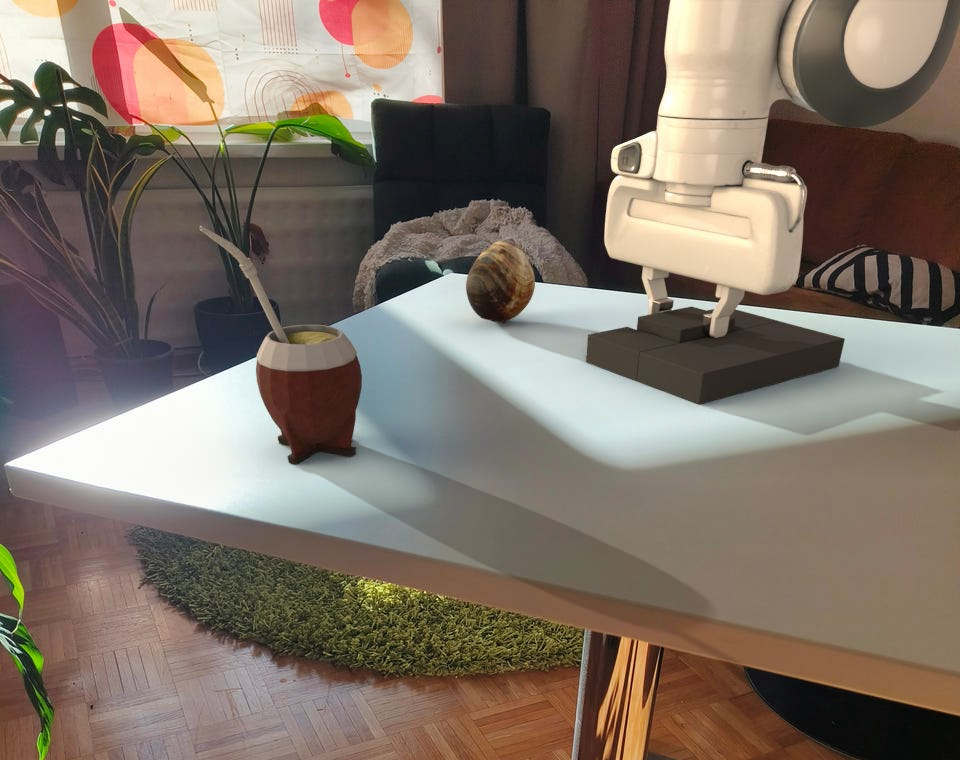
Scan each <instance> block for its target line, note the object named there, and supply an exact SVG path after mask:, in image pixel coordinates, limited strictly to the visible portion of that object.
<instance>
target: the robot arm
mask: <svg viewBox="0 0 960 760" xmlns="http://www.w3.org/2000/svg"><path fill="white" fill-rule="evenodd" d="M667 13H668V14H667V20H666V30H665V39H664V51H663V52H664V53H663V54H664V63H665V69H666V70H665V71H666V77H665V78H666V79H665V86H664V87H665V88H664V92H663V95H662V98H661V100H660V104H659V107H658V112H657V119H656V120H657V122H656V130H652V131H649V132H647V133H645V134H643V135H641V136H638V137H636V138H634V139H631V140H628V141H625V142H623V143H621V144H618V145H616V146H615V147H613V149H612V150H611V151H612V152H611V155H610V157H611V158H610V166H611V167H610V168H611V171H612V172H613V173H614V174H616V175H617V176H615V177H614V179H613V180H612V181H611V183H610V186H609V190H608V193H607V202H606V209H605V211H606V212H605V220H604V236H603V237H604V238H603V241H604V246H605V250H606V251H607V255H608V256H609V258H610V259H613V260H617V261H621V262H626V263H630V264H634V265H638V266H642V271H641V272H642V273H641V280H642V283H643V287H644V290H645V293H646V296H647V300H648V307H647V315H650V314H655V313H660V312H665V311H671V310H673V308H674V301H675V300H674V299H673V298H669V297H668V291H667V286H666V282H665V279H668V278H669V276H670V273H671V274H674V275H679V276H682V277H686V278H691V279H695V280H699V281H703V282H708V283H712V284H715V285H716V290H715V297H716V298H718V299H719V300H718V303H717V304H716V306H715V308H713V309H714V311H713V313H712V314H705V315H704V317H703V325H704V326H703V327H702V333H703V334H704V335H707V336H711V337H714V338H718V337H723V336H725V335H726V333H727V330H728V324H729V318H730V315H732V313H733V312H734V310H735V309H736V310H737V308H738V306H739V305H740V303H741V302H742V301H743V299H744V297H745V292H748V293H752V294H756V295H761V296H768V295H769V296H770V295H776V294H779V293H783V292H787V291H788V290H789V289H791V287H792V286H793V285H794V284H795V283H796V282H797V280H798V277H799V273H800V268H801V260H802V249H803V237H804V213H805V208H806V202H807V197H808V189H807V185H805V182H804V180H803V178H802V177H801V176H800V175H799V174H797V170H796V169H795V168H794V167H792V166H789V165H772V164H769V163H766V162H765V163H764V162H762V161H763V154H764V148H765V147H764V146H765V141H766V135H767V129H768V122H769V116H770V111H771V107H772V105H773V104H774V103H775V102H777V101H780V100H788V101H790V102H791V103H793V104H795V105H797V106H798V107H801V108H804V109H806V110H808V111H811V112H814V113H817V114H818V115H820V116H821V117H822V118H823V119H825V120H827V121H828V122H830V123H832V124H835V125H837V126H841V127H844V128H852V129H853V128H854V129H861V128H862V129H863V128H869V127H874V126H878V125H881V124H884V123H886V122H889V121H891V120H893V119H895V118H896V117H899V116H900V115H902V114H903V113H905V112H906V111H908V110H909V109H910V108H911V107H913V106H914V105H915V104H916V103H918V101H919V100H920V99H922V98H923V97H924V95H926V93H928V91H929V90H930V88H931V87H932V86H933V84H934V83H935V81H936V80H937V79H938V77H939V76H940V74H941V72H942V71H943V69H944V67H945V65H946V63H947V61H948V59H949V56H950V53H951V52H952V49H953V46H954V42H955V40H956V36H957V32H958V29H959V26H960V0H669V5H668V12H667ZM793 181H795V182H796V183H794V182H793Z"/></svg>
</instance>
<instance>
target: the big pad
mask: <svg viewBox="0 0 960 760" xmlns="http://www.w3.org/2000/svg"><path fill="white" fill-rule="evenodd" d="M714 309H715V308H713V309H708V310H706V311H710V312H713V311H714ZM730 317H732V318H735V325H734V331H733V332H729V333H726V335H725V336H723V337H718V338H714V337H707V338H702V339H697V340H693V341H688V342H684V343H677V342H674V341H671V340H668V339H664V338H661V337H658V336H655V335H652V334H649V333H645V332H642V331H639V330H637V328H636V329H635V328H632V327H629V326H624V327H619V328H618V327H617V328H614V329H609V330H605V331H604V330H603V331H599V332H593V333H589V334H587V341H586V342H587V343H586V344H587V345H586V358H585V363H587V364H590V365H593V366H595V367H598V368H601V369H604V370H606V371H609V372H612V373H614V374H617V375H619V376H622V377H625V378H626V379H627V378H628V379H631V380H633V381H636V382H639V383H641V384H643V385H647V386H649V387H651V388H655V389H657V390H660V391H663V392H666V393H668V394H670V393H671V395H673V396H676V397H678V396H680V397H679V398H681V397H682V398H681V399H683V400H686V399H687V401H689V400H690V401H689V402H691V403H694V404H698V405H701V404H704V403H709V402H713V401H716V400H720V399H723V398H728V397H730V396H731V397H732V396H734V395H737V394H742V393H747V392H749V391H753V390H756V389H761V388H764V387H767V386H771V385H774V384H779V383H783V382H786V381H790V380H793V379H797V378H801V377H805V376H808V375H812V374H815V373H819V372H822V371H826V370H830V369H831V370H832V369H835V368H838V367H839V366H840V362H841V358H842V355H843V349H844V345H845V340H846V338H844V337H840V336H836V335H833V334H829V333H825V332H821V331H818V330H815V329H810V328H806V327H803V326H799V325H796V324H791V323H788V322H784V321H781V320H776V319H773V318H769V317H765V316H762V315H759V314H755V313H754V314H753V313H750V312H746V311H744V310H739V309H737V308H736V309H735V310H734V312H733V313H732V315H730Z"/></svg>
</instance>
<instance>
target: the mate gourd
mask: <svg viewBox="0 0 960 760" xmlns="http://www.w3.org/2000/svg"><path fill="white" fill-rule="evenodd" d="M199 230H200V232H202V233H203V234H204V235H206V236H207V237H209V238H210V239H211V240H212V241H214V242H215V243H216V244H218V245H219V246H221V247H222V248H223V249H224V250H226V251H227V252H228V253H229V254H230V255H231V256H232V257H233V258H234V259H236V260H237V262H238V263H239V268H240V270H241V271H242V273H243V275H244V277H245V278H246V279H248V280H249V282H250V284H251V287H252V288H253V290H254V292H255V295H256V296H257V298H258V301H259V303H260V305H261V307H262V309H263V311H264V313H265V315H266V317H267V320H268V321H269V324H270V325H271V328H272V329H273V330H272V331H270V332H269V333H267V334H266V336H265V337H264V339H263V340H262V343H261V344H260V347H259V349H258V351H257V353H256V365H255V375H256V377H255V378H256V383H257V389H258V391H259V394H260V397H261V400H262V403H263V405H264V406H265V409H266V411H267V412H268V415H269V416H270V418H271V420H272V421H273V423H274V424H275V425H276V426H277V428H278V429H279V430H280V433H281V434H280V435H278V436H277V441H278V444H279V445H284V446H289V448H290V451H291V453H290V454H289V455H287V461H288V463H289V464H293V465H298V464H300V463H302V462H303V461H305V460H308V459H309V458H310V457H312V456H314V455H315V454H317V453H327V454H332V455H337V456H338V455H339V456H343V457H349V458H350V457H354V456H355V455H357V451H356V450H357V447H356V446H352V445H353V436H354V431H355V426H356V421H357V419H356V418H357V408H358V406H359V402H360V398H361V392H362V389H363V388H362V386H363V375H362V368H361V363H360V360H359V357H358V352H357V350H356V348H355V346H354V345H353V343H352V342H351V340H350V339H349V338H348V336H347V335H346V334H345V333H344V332H343V331H342V330H341V329H340V328H337V327H334V326H330V325H323V324H298V325H290V326H289V325H288V326H284V327H282V325H281V323H280V321H279V319H278V317H277V315H276V313H275V310H274V308H273V306H272V304H271V302H270V300H269V298H268V296H267V294H266V291H265V290H264V287H263V286H262V283H261V281H260V279H259V277H258V271H257V268H256V266H255V265H254V263H253V262H252V260H251V258H250V257H247V256H246V255H245V253H244V252H242V250H241V249H239V248H238V246H236V245H235V244H234V243H233V242H231V241H229V240H228V239H226V238H225V237H222V236H220V235H219V234H217V233H215V232H213V231H212V230H210V229H209V228H206V227H204V226H202V225H199Z"/></svg>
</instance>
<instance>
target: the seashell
mask: <svg viewBox="0 0 960 760" xmlns="http://www.w3.org/2000/svg"><path fill="white" fill-rule="evenodd" d="M466 277H467V278H466V281H465V290H466V291H465V292H466V297H467V300H468V303H469V305H470V307H471V309H472V310H473V312H474V314H476V315H477V316H478V317H479V318H481V319H483V320H487V321H491V322H493V323H506V322H509V321H510V320H513V319H514V318H516V317H517V316H519V315H520V314H521V313H522V312H523V311H524V310H525V309H526V307H527V306H528V305H529V303H530V301H531V300H532V298H533V295H534V292H535V288H536V277H535V272H534V269H533V267H532V265H531V263H530V262H529V260H528V258H527V256H526V254H525V252H524V251H523V250H522V248H521V246H520V245H519V243H517V241H516V240H515V239H514V238H513V237H511V236H507V237H504V238H501V239H499V240H498V241H496V242H494V243H493V244H491V245H490V246H488V247H487V248H486V249H485V250H484V251H482V252H481V253H480V255H479V256H478V257H477V258H476V259H475V261H474V262H473V264H472V266H471V267H470V269H469V272H468V274H467V276H466Z"/></svg>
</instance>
